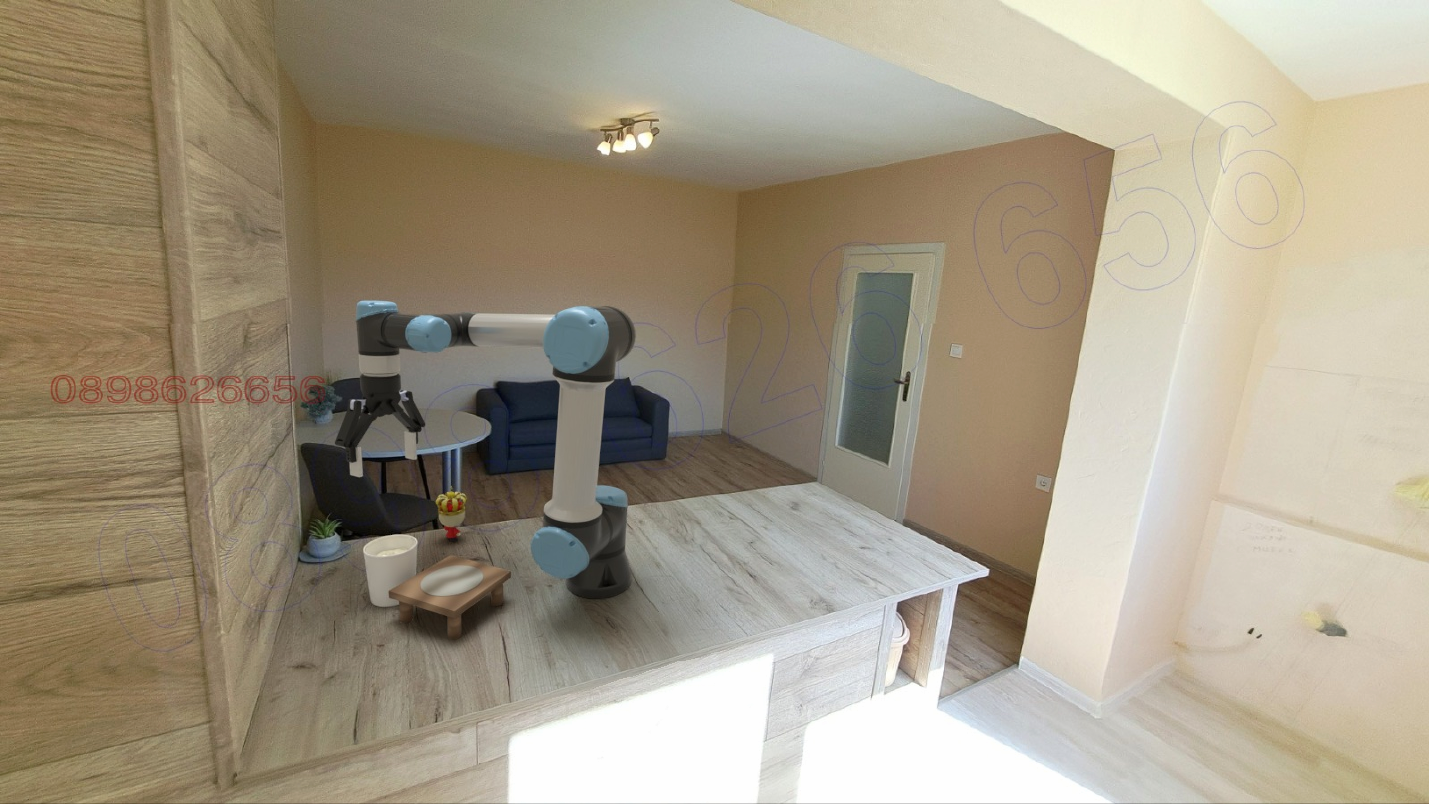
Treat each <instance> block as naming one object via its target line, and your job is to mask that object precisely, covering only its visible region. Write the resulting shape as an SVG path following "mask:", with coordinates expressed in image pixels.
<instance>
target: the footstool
mask: <svg viewBox="0 0 1429 804" xmlns="http://www.w3.org/2000/svg"><path fill="white" fill-rule="evenodd" d="M510 579H512V571H511V570H507V569H505V568H501V567H500V568H499V567H497V566H493V565H488V564H485V563H482V562H478V561H475V560H471V559H467V558H464V557H459V556H456V555H452V554H450V555H449V556H446V557H445V558H444V559H441V560H440V561H438V562H436V563H434V564H433V565H431V566H429V567H428V568H426V569H424V570H423V571H420V572H419V573H416V575H415V576H414V577H412V578H410V579H408V580H407V581H405V582H403V583H401V584H400V585H398V586H396V587H394V588H393V589H391V590H389V598H391V599H395V600H398V601H399V605H398V610H399V611H398V612H399V614H398V616H399V623H401V624H408V623H410V622H412V621H413V620H414V606H415V607H418V608H421V609H424V610H427V611H429V612H434V613H437V614H439V615H443V616H446V617H447V618H446V619H447V620H446V621H447V622H446V623H447V638H448V639H449V640H456V639H459V638H461V636H462V614H463V613H464V612H466V611H467V610H468V609H470V608H471V607H472V606H474V605H475V604H477V603H478V602H479V601H481V600H482V599H483V598H485V597H486V596H488V595H489V594H490V604H491V606H493V607H499V606H501V605H503V603H504V583H505V582H507V581H508V580H510Z"/></svg>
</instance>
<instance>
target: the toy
mask: <svg viewBox="0 0 1429 804" xmlns="http://www.w3.org/2000/svg"><path fill="white" fill-rule="evenodd" d="M450 489H451V491H447V492H445V494H444V493H443V494H439V495H438V496H437V498H436V500H435V504H436V506H437V508H438V509H437V514H438V519H439V521H440V523H441V525H443V526H444V527H443V529H444V530H445V531H447V532H446V534H445V537H446V538H447V540H448V541H450V542H451V543H456V542H458V541H459V540H458V537H460V536H461V535H462V531H461V530H460V529H458V528H457V526H460V525H461V524H462V523H463V522H464V520H465V518H466V506H465V505H466V502H467V499H468V497H467V496H466V494H465V493H461V492H459V491H455V492H454V491H453V490H454V488H453V486H452V485H451V486H450ZM461 500H462V501H461Z"/></svg>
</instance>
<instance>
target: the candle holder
mask: <svg viewBox="0 0 1429 804" xmlns="http://www.w3.org/2000/svg"><path fill="white" fill-rule="evenodd" d="M362 553H363V556H364V557H363V558H364V565H365V570H366V571H365V572H366V579H367V586H368V593H369V599H370V602H371V604H372V605H374V606H376V607H378V608H379V607H381V608H390V607H391V608H392V607H395V606H396V607H397V606H399V601H398V600H395V599H391V598H389V590H391V589H393V588H394V587H396V586H398V585H400V584H401V583H403V582H405V581H407V580H408V579H410V578H412V577H414V576H415V575H417V558H418V557H417V555H418V539H417V538H416V537H414V536H413V535H409V534H392V535H391V534H390V535H385V536H381V537H377V538H375V539H373V540H371V541H369V542H368V543H366V544H365V545H364V546H363V549H362Z"/></svg>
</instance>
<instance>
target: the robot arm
mask: <svg viewBox="0 0 1429 804" xmlns="http://www.w3.org/2000/svg"><path fill="white" fill-rule="evenodd" d="M355 324H356V337H357V348H358V350H357V351H358V363H359V365H358V367H359V372H360V373H361V374H360V375H359V382H360V383H359V384H360V391H361V393H362V398H361V399H353V398H350V399H348V400H347V409H346V411H345V412H346V413H345V415H344V418H343V420H342V423H341V425H340V428H339V430H338V432H337V436H336V439H335V441H334V445H335V446H337V447H341V448H342V447H343V448H344V449H345V461H346V462H347V463H349V476H353V477H357V478H362V477H364V474H363V473H364V471H363V457H362V446H359V444H360V442H361V441H362V439H363V438H364V436H365V435H366V433H367V431H368V430H369V428H370V426H371V425H372V423H373V422H374V421H376V420H377V418H381V417H385V416H392V415H393V417H395V419H396V420H398V421H399V423H401V425H403V426H404V427H405V428H406V430H405V431H403V433H404V434H403V437H404V438H403V439H404V455H405V456H404V457H405V459H409V460H414V461H415V460H417V459H418V455H417V453H418V452H417V445H418V443H419V433H421V432H422V430H423V428H424V427H426V422H425V420H424V418H423V416H422V414H421V412H420V409H418V407H417V405H416V403H415V401H414V397H413V396H414V395H413V392H412V391H410V390H405V389H402V381H401V379H402V378H401V374H399V372H401V359H400V357H401V356H400V354H401V353H400V350H407V351H412V352H421V353H422V354H424V353H425V354H427V353H432V354H433V353H434V354H435V353H441V352H443V351H444V350H445V349H447V348H455V347H456V348H457V347H477V348H478V347H487V348H488V347H489V348H490V347H491V348H512V349H513V348H514V349H515V348H517V349H537V350H538V349H539V350H541V349H542V350H543V352H544V354H545V357H546V358H548V362H549V363H550V365H552V377H553V378H554V379H555V380H556V382H557V383H558V384H559V396H558V410H557V412H558V413H557V427H556V439H555V452H554V453H555V455H554V456H555V457H554V471H553V472H554V473H553V481H552V483H553V484H552V497H551V499H550V500H549V501H547V502H546V503H545V504H544V507H543V514H542V527H541V528H539V529H538V530H537V531H536V532H535V533H534V535H533V536H532V538H531V540H530V553H531V556H532V557H531V558H532V559H533V560H534V562H535V563H536V565H537V566H538V567H540V570H541V571H543V573H545V574H547V575H549V576H551V577H553V578H556V579H559V580H560V579H561V580H564V579H565V584H566V589H568V590H569V591H570V592H571V593H572V594H574V595H577V596H578V597H581V598H587V599H605V598H606V599H607V598H611V597H615V596H617V595H619V594H622V593H623V592H625V591H626V590H627V589H628V588H629V587H630V585H631V583H632V569H631V565H630V562H629V559H628V555H627V552H626V543H627V541H626V538H627V522H628V521H627V520H628V508H629V505H628V496H627V492H625V491H624V490H622V489H621V488H619V487H615V486H609V485H600V484H598V478H599V477H598V476H599V467H600V466H599V465H600V456H601V454H600V452H601V444H602V435H603V434H602V433H603V422H604V421H603V420H604V413H605V412H604V410H605V399H606V398H605V397H606V388H608V387H609V386H610V385H611V384H612V383H614V381H615V378H616V377H615V375H616V363H617V362H620V361H622V360H623V359H625V358H626V357H627V356H628V355H630V353H632V350H633V349H634V347H635V343H636V338H637V332H636V328H635V323H634V321H633V320H632V319H631V318H630V316H629V315H628V314H627V313H626V312H625V311H623V310H622V309H620V308H618V307H614V306H609V305H601V306H598V305H596V306H592V305H591V306H586V305H585V306H582V305H577V306H573V307H569V308H565V309H563V310H561V311H559V312H557V313H556V314H547V313H545V314H543V313H542V314H541V313H540V314H539V313H537V314H534V313H533V314H532V313H531V314H530V313H529V314H528V313H527V314H526V313H521V314H520V313H479V312H478V313H473V312H454V313H453V312H452V313H426V314H414V313H413V314H412V313H401V312H399V309H398V304H397V303H395V302H393V301H386V300H361V301H358V302H357V304H356V308H355ZM401 389H402V390H401ZM399 403H401V404H402V406H403V407H404V408H403V407H401V405H400V404H399ZM404 409H405V410H404Z"/></svg>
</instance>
